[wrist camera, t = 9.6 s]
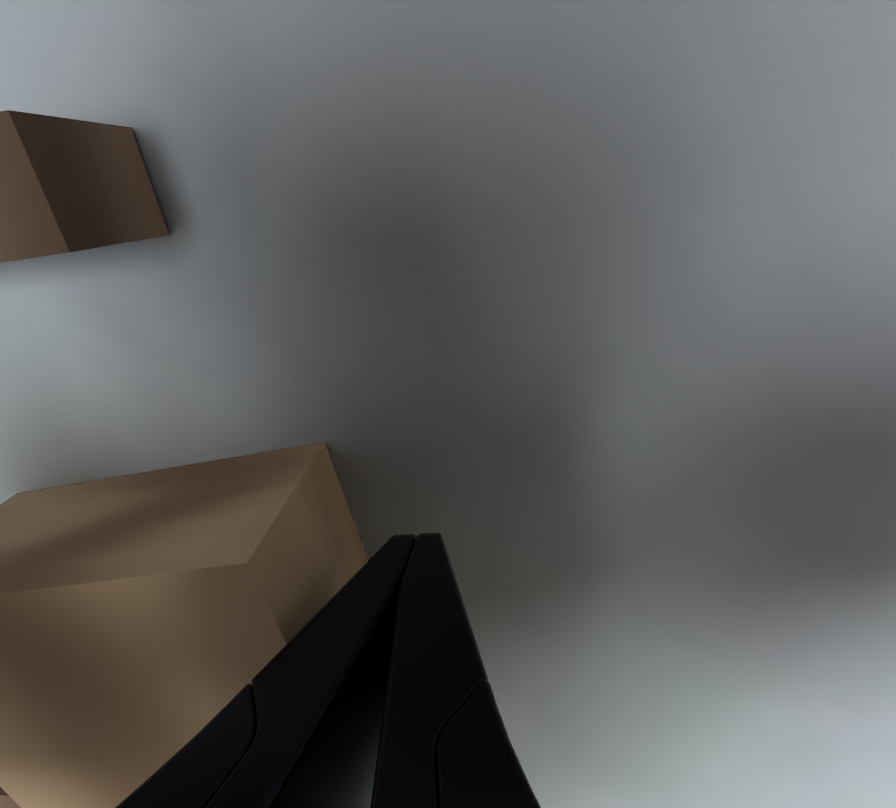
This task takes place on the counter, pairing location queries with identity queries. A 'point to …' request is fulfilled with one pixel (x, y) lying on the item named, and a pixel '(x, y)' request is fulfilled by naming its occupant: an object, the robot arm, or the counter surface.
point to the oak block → (153, 611)
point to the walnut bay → (70, 194)
